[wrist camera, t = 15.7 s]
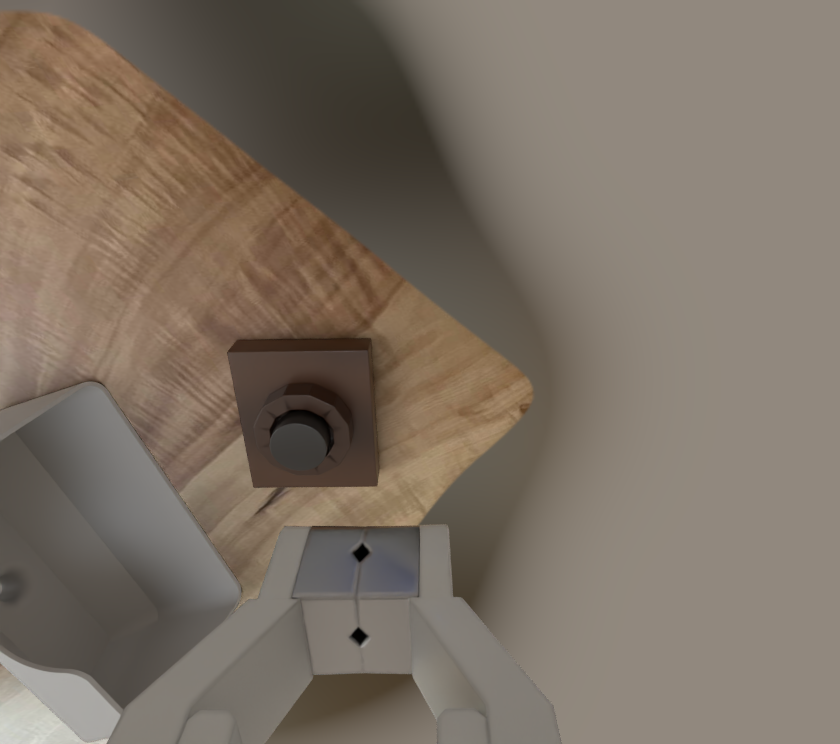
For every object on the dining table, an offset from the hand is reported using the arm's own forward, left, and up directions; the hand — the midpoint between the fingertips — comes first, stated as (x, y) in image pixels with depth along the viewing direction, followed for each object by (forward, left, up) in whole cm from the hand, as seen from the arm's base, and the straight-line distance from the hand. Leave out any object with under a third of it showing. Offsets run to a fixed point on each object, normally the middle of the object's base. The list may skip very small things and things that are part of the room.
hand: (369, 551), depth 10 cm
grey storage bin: (+25, -28, -29) cm, 48 cm away
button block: (+14, -8, -29) cm, 33 cm away
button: (+14, -8, -26) cm, 30 cm away
